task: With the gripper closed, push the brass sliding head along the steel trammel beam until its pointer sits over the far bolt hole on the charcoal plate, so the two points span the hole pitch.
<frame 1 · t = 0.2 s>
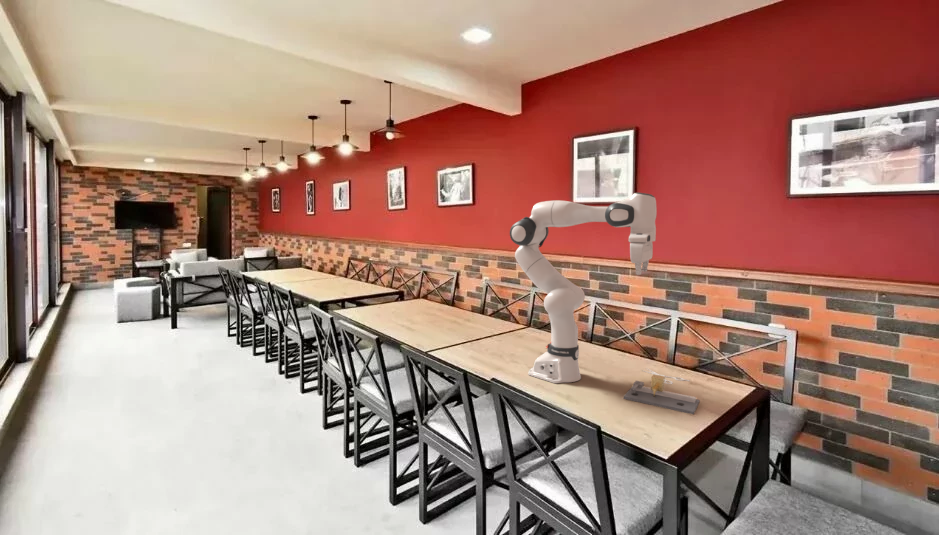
hand: (641, 273, 170), 47 cm above the table, fingers open, 8 cm apart
scissors: (661, 377, 193), on the table
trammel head: (656, 386, 169), point 5 cm above the table, slide at 7.0 cm
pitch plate: (661, 400, 167), on the table
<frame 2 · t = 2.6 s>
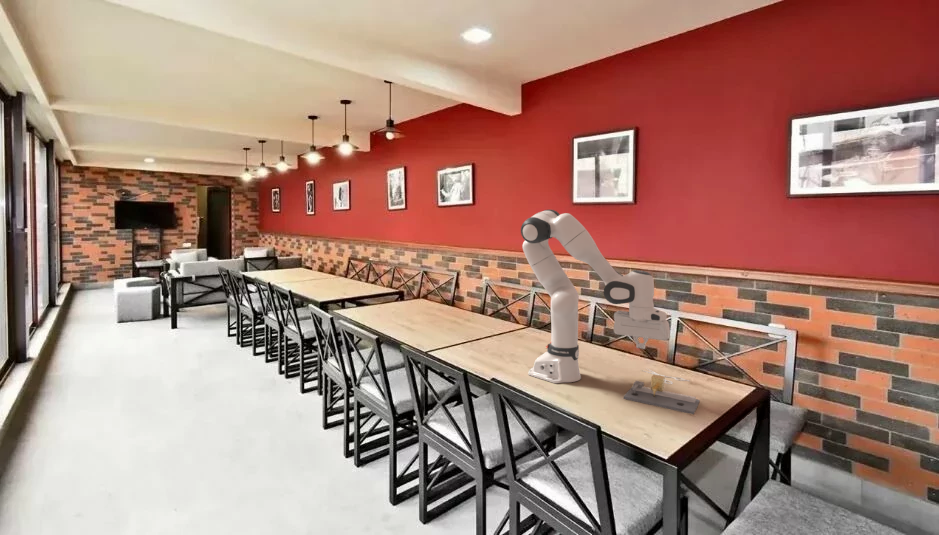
hand: (640, 348, 173), 18 cm above the table, fingers closed
nothing on the table moved.
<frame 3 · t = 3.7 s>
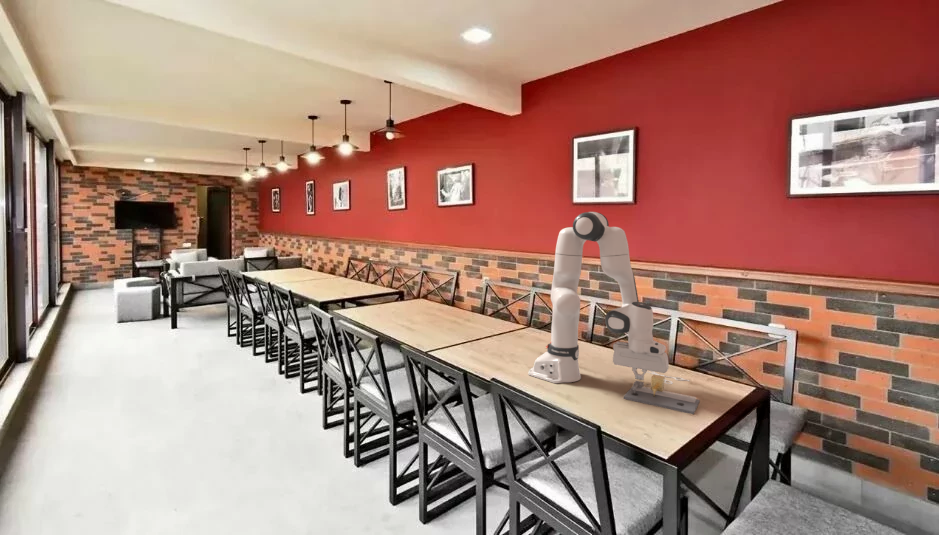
hand: (639, 379, 174), 5 cm above the table, fingers closed
nothing on the table moved.
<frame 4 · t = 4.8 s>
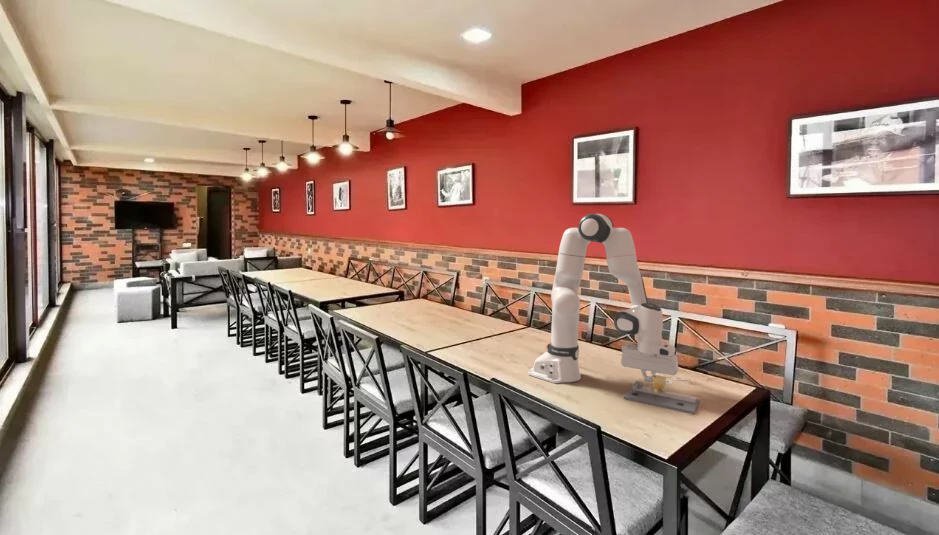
hand: (648, 381, 172), 5 cm above the table, fingers closed
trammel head: (658, 386, 169), point 5 cm above the table, slide at 7.5 cm, touching gripper
everything else where it was.
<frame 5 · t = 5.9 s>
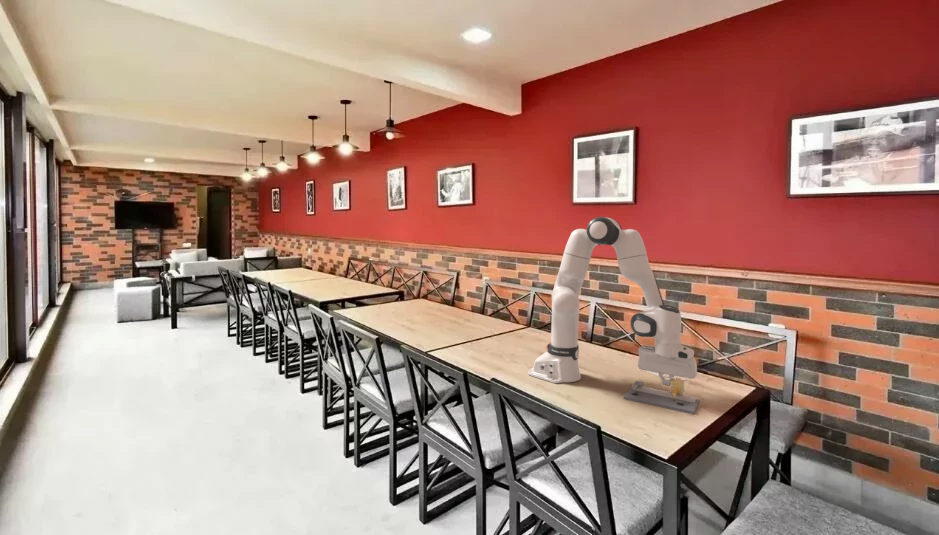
hand: (666, 384, 169), 5 cm above the table, fingers closed
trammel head: (676, 389, 165), point 5 cm above the table, slide at 13.9 cm, touching gripper
everything else where it was.
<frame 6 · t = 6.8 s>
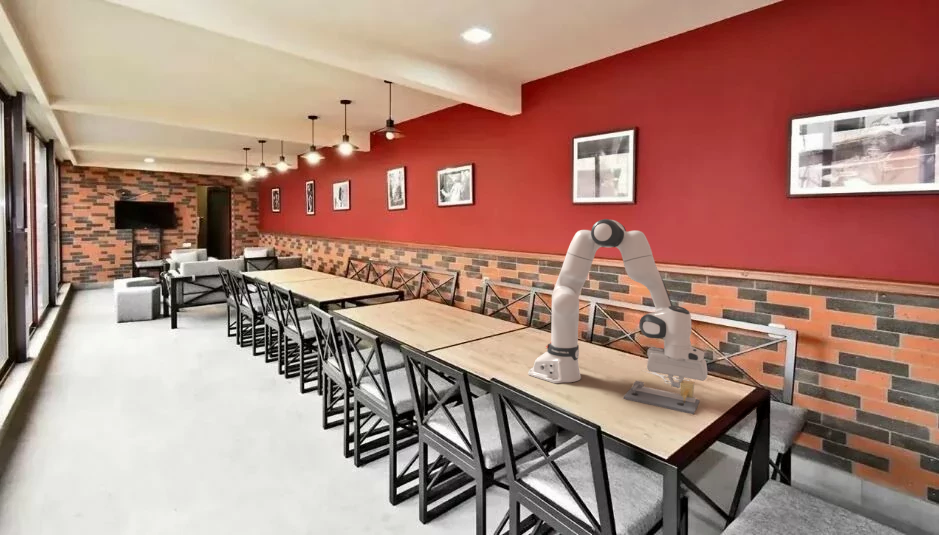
hand: (675, 386, 167), 5 cm above the table, fingers closed
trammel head: (686, 392, 163), point 5 cm above the table, slide at 17.2 cm, touching gripper
everything else where it was.
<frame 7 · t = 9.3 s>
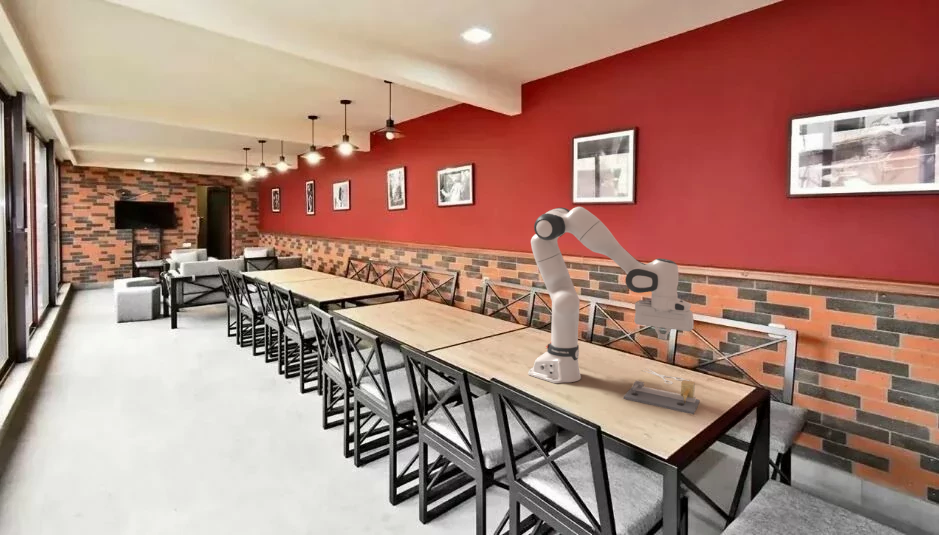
hand: (662, 339, 168), 23 cm above the table, fingers closed
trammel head: (686, 392, 163), point 5 cm above the table, slide at 17.4 cm
everything else where it was.
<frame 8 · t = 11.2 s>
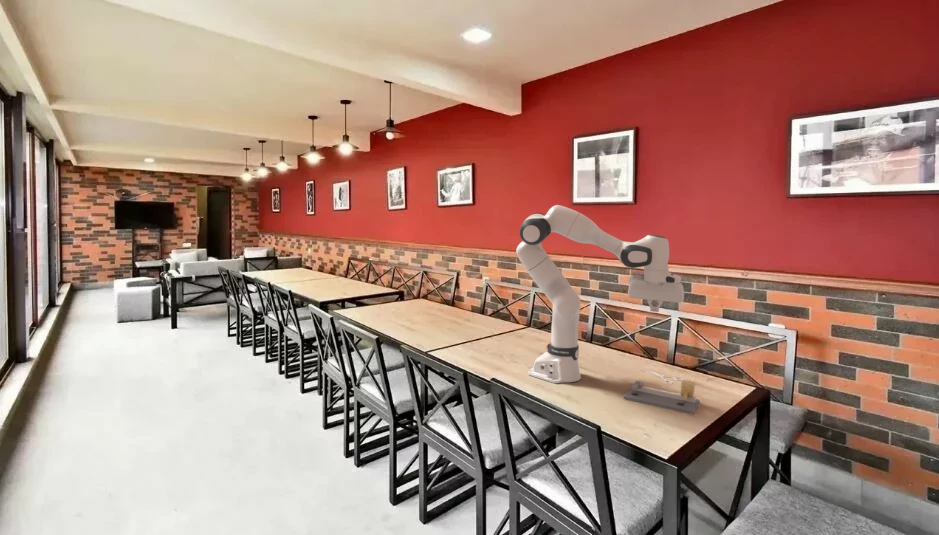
hand: (654, 311, 176), 31 cm above the table, fingers closed
nothing on the table moved.
at the end: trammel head slide at 17.4 cm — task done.
